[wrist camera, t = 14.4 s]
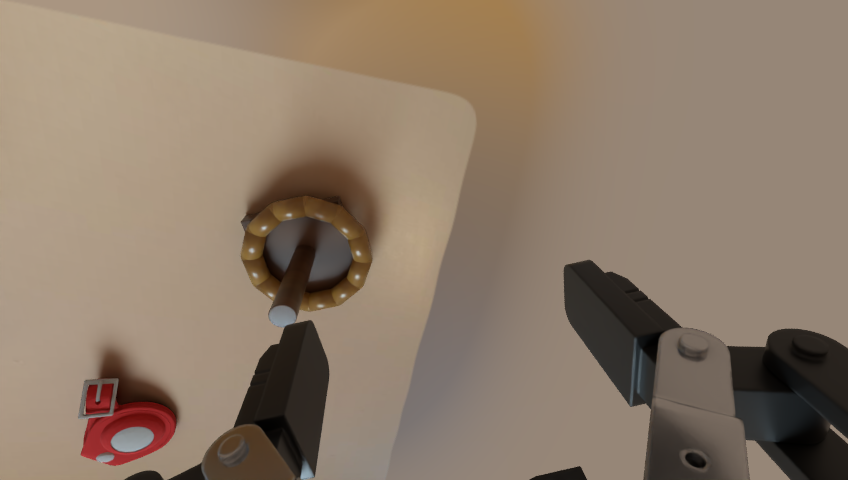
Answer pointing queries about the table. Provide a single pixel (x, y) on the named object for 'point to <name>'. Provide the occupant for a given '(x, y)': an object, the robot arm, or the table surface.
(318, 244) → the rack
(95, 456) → the tracker holder
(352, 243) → the ring
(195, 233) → the table surface
